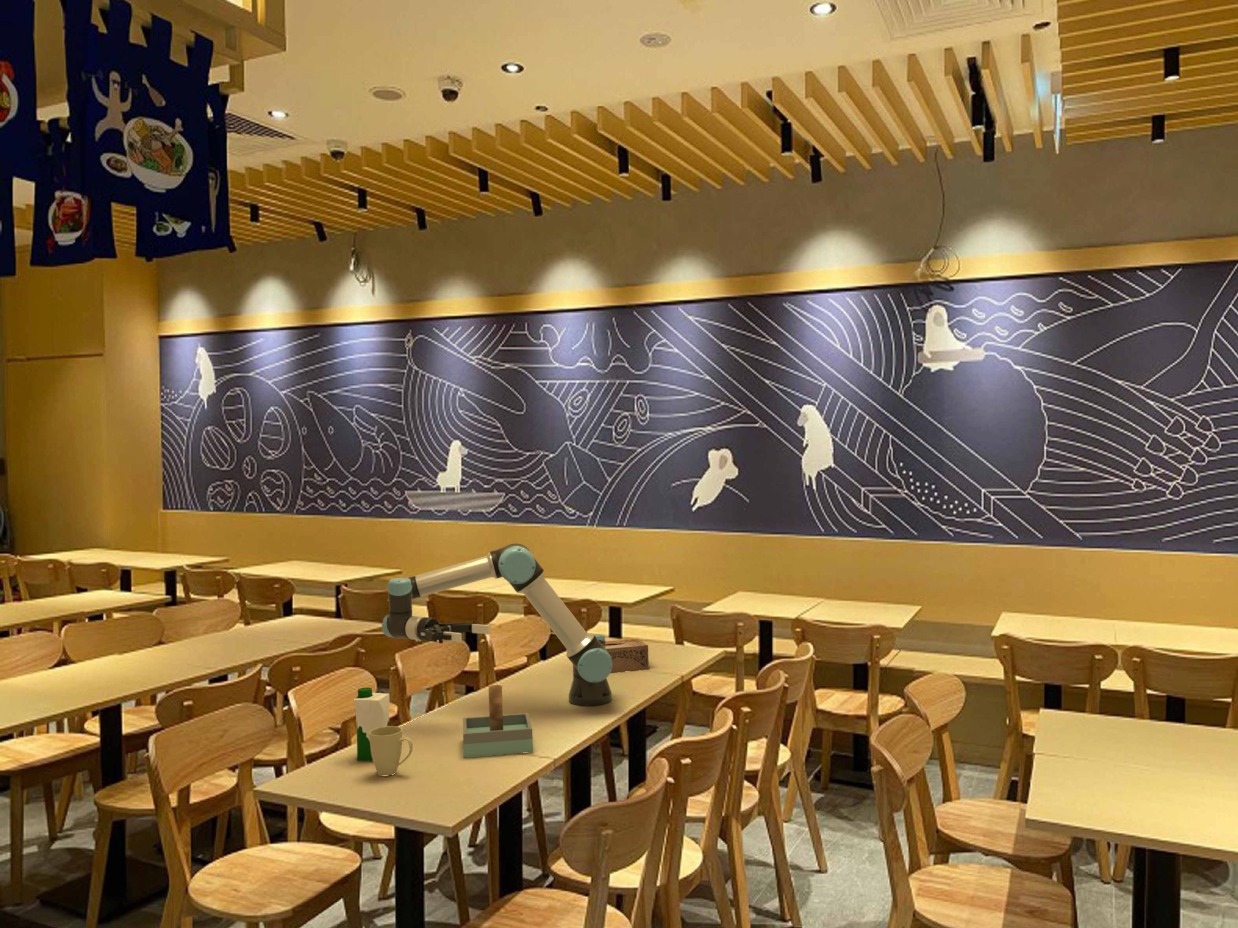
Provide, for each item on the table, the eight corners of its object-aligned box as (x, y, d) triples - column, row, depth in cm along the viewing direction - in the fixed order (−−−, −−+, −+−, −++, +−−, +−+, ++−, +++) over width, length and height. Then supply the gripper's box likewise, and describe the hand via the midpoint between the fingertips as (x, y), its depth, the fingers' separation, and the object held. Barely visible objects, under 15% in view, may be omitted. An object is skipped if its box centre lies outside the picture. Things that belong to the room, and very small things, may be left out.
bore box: (528, 735, 298) (528, 712, 298) (532, 752, 281) (532, 728, 281) (463, 740, 295) (463, 717, 295) (463, 757, 278) (463, 733, 278)
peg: (503, 743, 290) (501, 684, 290) (504, 747, 286) (502, 687, 286) (490, 744, 290) (488, 685, 289) (490, 748, 286) (488, 688, 285)
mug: (373, 782, 260) (372, 738, 259) (368, 771, 269) (366, 728, 268) (414, 775, 264) (412, 732, 264) (407, 765, 273) (405, 723, 273)
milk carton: (366, 751, 286) (364, 685, 286) (394, 752, 285) (392, 685, 284) (352, 761, 278) (350, 692, 277) (381, 762, 276) (379, 693, 276)
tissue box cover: (585, 676, 373) (584, 650, 373) (577, 668, 387) (576, 643, 387) (648, 670, 380) (648, 645, 380) (638, 662, 394) (637, 638, 394)
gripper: (449, 633, 320) (500, 638, 309) (396, 647, 298) (448, 653, 287) (448, 610, 320) (499, 614, 309) (395, 623, 298) (448, 628, 287)
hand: (475, 633), depth 298 cm, fingers open, 13 cm apart
